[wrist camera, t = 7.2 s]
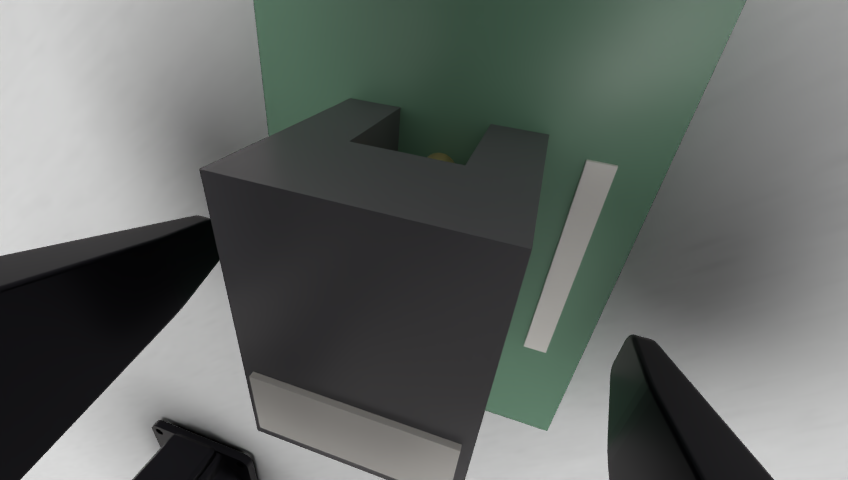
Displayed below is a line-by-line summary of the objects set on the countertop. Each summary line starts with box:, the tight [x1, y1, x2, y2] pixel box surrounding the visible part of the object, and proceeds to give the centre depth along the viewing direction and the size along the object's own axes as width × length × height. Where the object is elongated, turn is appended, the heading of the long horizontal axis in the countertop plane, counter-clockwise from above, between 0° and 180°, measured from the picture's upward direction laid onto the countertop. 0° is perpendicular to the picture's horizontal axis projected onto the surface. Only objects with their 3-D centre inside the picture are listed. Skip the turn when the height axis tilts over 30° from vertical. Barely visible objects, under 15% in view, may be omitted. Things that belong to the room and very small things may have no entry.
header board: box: [253, 0, 746, 431], centre depth 10 cm, size 12×9×3 cm
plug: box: [200, 98, 549, 480], centre depth 8 cm, size 6×4×5 cm
